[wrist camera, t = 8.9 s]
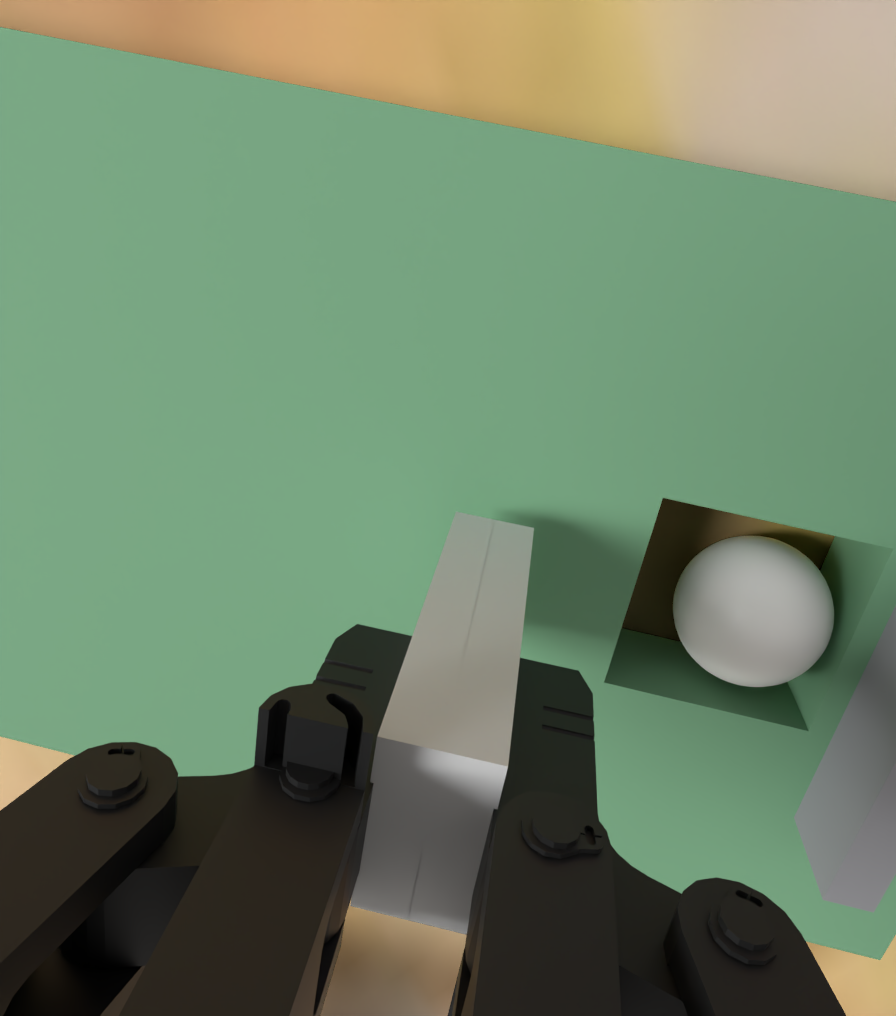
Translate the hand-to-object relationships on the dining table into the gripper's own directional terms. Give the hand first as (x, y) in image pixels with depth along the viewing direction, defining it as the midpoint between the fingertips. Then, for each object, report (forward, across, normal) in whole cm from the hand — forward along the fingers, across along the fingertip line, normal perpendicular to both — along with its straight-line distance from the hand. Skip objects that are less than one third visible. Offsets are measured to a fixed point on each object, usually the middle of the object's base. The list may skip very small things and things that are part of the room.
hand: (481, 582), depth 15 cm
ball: (+2, +6, 0) cm, 6 cm away
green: (+4, -2, 0) cm, 4 cm away
